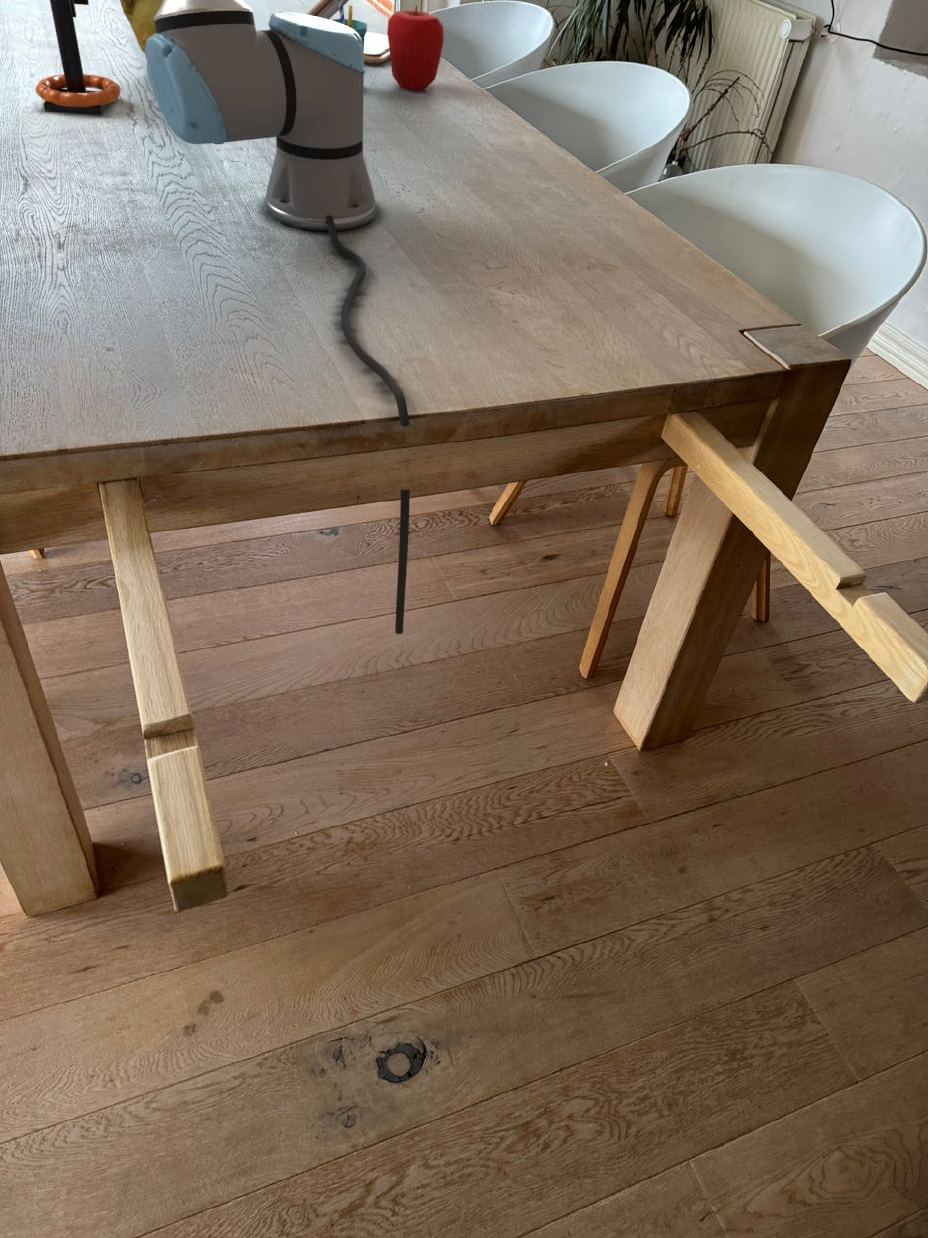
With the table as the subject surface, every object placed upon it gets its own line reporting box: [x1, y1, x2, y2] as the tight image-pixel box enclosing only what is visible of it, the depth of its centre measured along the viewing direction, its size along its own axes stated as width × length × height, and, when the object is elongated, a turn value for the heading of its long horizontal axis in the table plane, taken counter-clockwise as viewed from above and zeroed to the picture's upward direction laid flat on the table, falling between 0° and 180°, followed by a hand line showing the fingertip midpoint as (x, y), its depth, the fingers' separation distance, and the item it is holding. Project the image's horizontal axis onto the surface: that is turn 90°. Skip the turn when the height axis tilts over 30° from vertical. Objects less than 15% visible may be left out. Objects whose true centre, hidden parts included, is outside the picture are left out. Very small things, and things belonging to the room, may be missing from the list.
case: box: [305, 0, 390, 64], centre depth 190 cm, size 20×21×16 cm
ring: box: [35, 73, 122, 107], centre depth 152 cm, size 13×13×2 cm
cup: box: [330, 0, 368, 54], centre depth 169 cm, size 14×8×15 cm, turn 24°
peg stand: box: [42, 0, 111, 116], centre depth 148 cm, size 9×9×15 cm
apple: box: [386, 5, 445, 92], centre depth 174 cm, size 11×10×14 cm
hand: (73, 9), depth 149 cm, fingers open, 8 cm apart
